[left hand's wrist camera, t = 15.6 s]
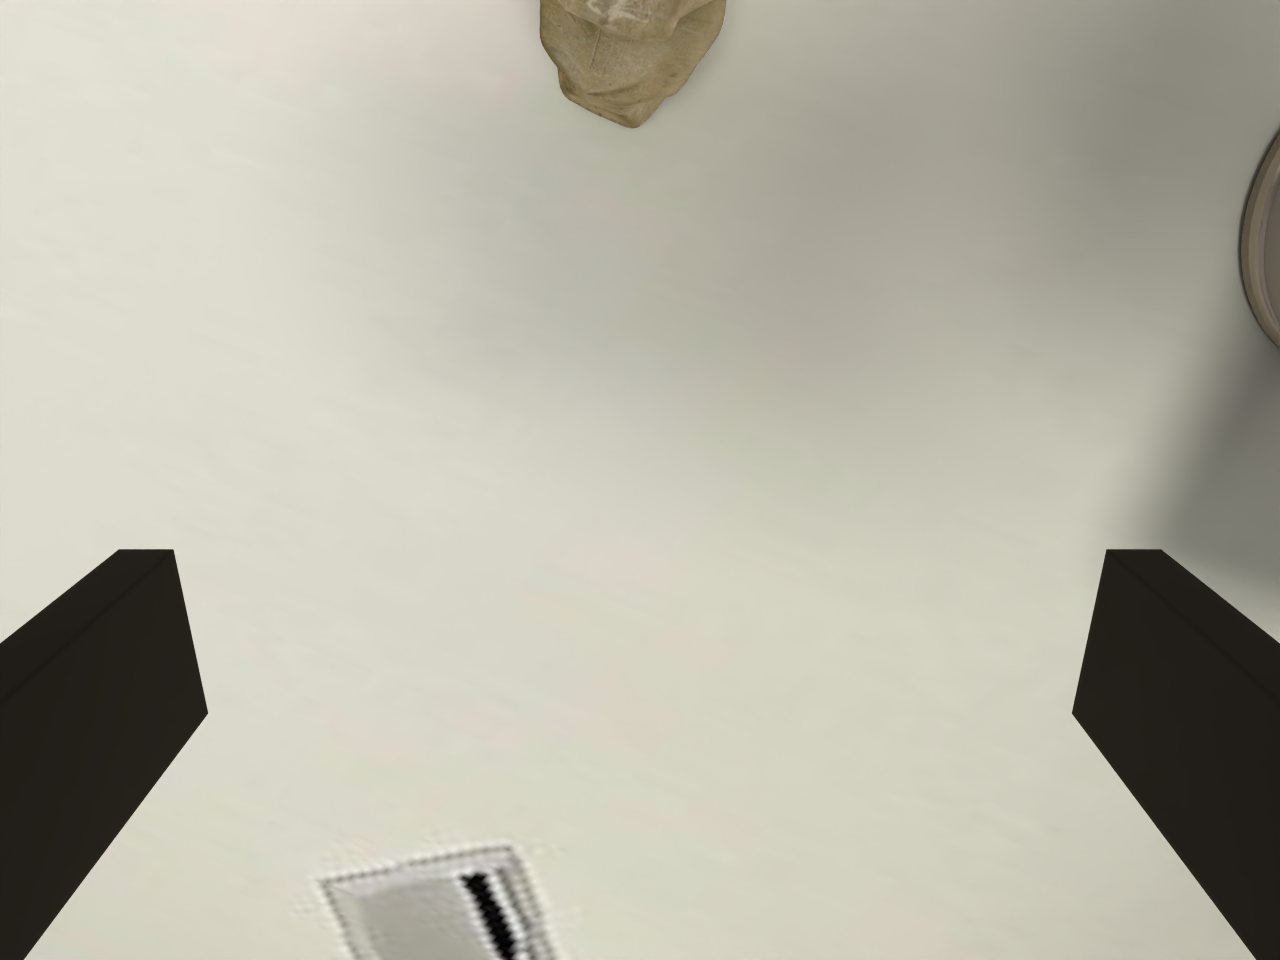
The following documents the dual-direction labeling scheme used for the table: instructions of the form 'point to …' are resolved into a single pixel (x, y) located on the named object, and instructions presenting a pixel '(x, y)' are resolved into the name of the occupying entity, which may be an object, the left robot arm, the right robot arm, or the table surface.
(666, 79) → the sculpture
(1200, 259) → the table surface
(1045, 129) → the table surface
